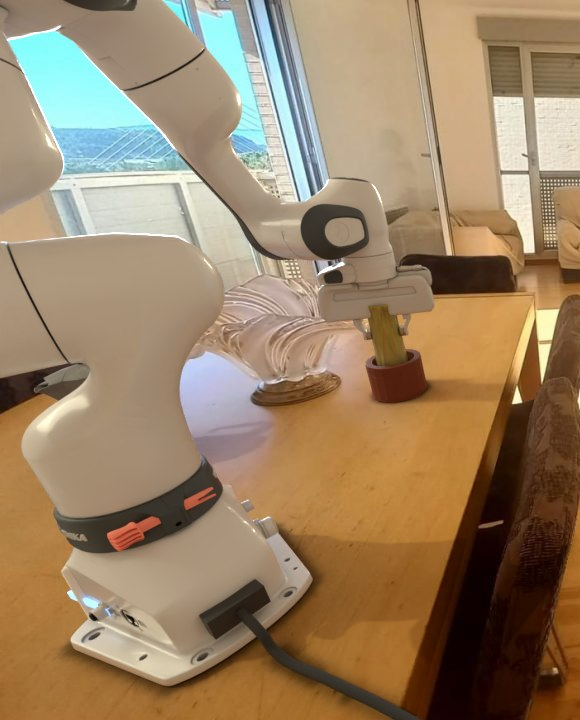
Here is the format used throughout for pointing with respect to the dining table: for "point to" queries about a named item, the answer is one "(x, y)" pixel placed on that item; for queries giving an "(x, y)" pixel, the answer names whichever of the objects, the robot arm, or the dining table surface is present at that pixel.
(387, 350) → the bamboo tube section
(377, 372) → the jar
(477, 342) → the dining table surface
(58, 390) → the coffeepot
